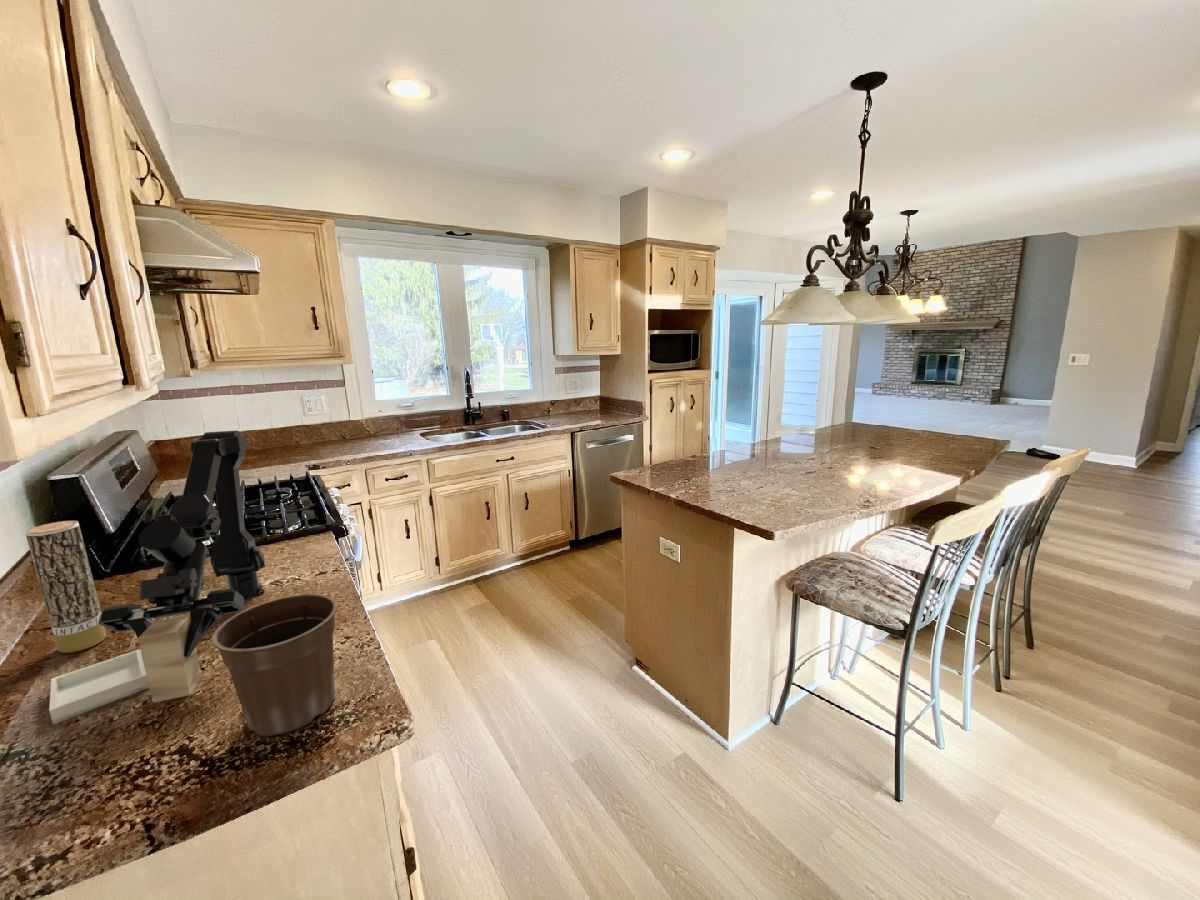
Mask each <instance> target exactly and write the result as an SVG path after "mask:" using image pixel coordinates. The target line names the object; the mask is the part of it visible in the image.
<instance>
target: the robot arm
mask: <svg viewBox="0 0 1200 900" xmlns="http://www.w3.org/2000/svg"><path fill="white" fill-rule="evenodd" d="M247 439H248V438H247V437H246V434H241V432H240V431H239V430H238V429H237V430H223V431H206V432H204V433H203V436H202V437H197V438H194V439H193V441H191V443H190V444H191V445H190V451H191V459H190V463H189V467H188V471H187V474H186V475H187V476H186V480H185V483H184V488H183V492H182V494H181V495H182V496H181V497H180V498H179V499H178V500H177V501H176V502H174V503H173V504H172V505H171V506H170V509H169V511H168V514H162V515H158V516H157V519H156V520H155V521H154V522H152V523H150V524H148V525H147V526H146V527H144V529H142V531H141V532H140V533H139V535H138V538H137V539H138V543H139V545H140V547H142V548H143V549H144V550H146V551H147V552H148V553H149V554H151V555H152V556H153V557H154V558H156V559H157V560H159V561H161V562H164V564H163V570H162V572H161V573H158V574H157V576H156V577H155V578H150V579H143V580H140V581H139V598H138V599H139V601H146V600H147V602H148V603H149V604H151V605H153V604H155V606H151V607H147V608H146V607H145V608H143V607H140V606H138V605H136V604H135V603H133V602H132V603H127V604H126V603H125V604H120V605H113V606H108V607H106V608H105V609H103V611H101V614H100V617H99V621H98V624H100V625H102V626H104V627H105V629H108V630H111V631H113V632H119V633H121V632H122V633H123V632H128V631H133V632H134V633H135V635H136V637H137V639H138V638H139V637H140V635H141V634H142V633H143V632H144V631H145V630H146V629H147V628H148V627H149V626H150V625H151V624H152V623H153V622H155V619H158V618H163V617H170V616H177V615H183V614H189V617H190V622H191V623H190V627H189V631H188V636H187V640H186V644H185V652H184V656H185V657H189V656H190V655H191V653H192V652H193V651H194V649H195V648H196V649H197V646H198V645H199V643H200V641H201V640H202V639H203V638H204V636H205V635H206V633H207V632H208V630H210V628H211V627H212V626H213V625H214V624H215V622H216V621H219V620H221V619H222V618H223V615H222V614H224V615H229V614H234V613H240V612H242V611H244V610H245V600H246V599H248V597H249V598H251V597H250V596H253V597H255V596H254V595H256V596H258V595H257V594H259V593H262V592H264V593H265V590H264V588H263V587H262V586H261V585H260V583H259V577H258V572H259V571H260V570H261V569H263V568H265V567H266V562H265V555H264V553H263V552H262V551H261V550H260V548H259V547H258V546H257V545H256V539H255V538H254V536H253V535H251V533H249V531H248V530H247V529H246V526H245V518H244V508H243V497H242V490H241V479H240V471H239V470H240V466H241V465H242V463H243V462H244V460H245V458H246V457H247V456H246V455H247V454H246V450H247V448H248V440H247ZM214 496H215V501H216V507H215V505H214V503H213V502H214ZM218 530H219V534H218V536H217V538H216V539H215V541H214V542H212V544H211V546H210V549H211V554H210V552H209V551H210V550H209V549H208V546H207V545H206V544H205V543H204V542H203V541H200V540H199V539H202V538H210V537H211V536H214V535H215V534H216V532H217V531H218ZM209 555H210V564H211V567H212V568H213V569H212V570H213V571H214V574H215V576H216V578H217V577H218V578H219V577H223V576H226V578H227V583H228V584H227V585H228V588H223V589H218V590H211V591H209V592H208V593H207V595H206V596H207V597H206V598H202V599H200V595H201V594H200V593H201V589H202V586H205V582H206V579H205V578H204V577H203V576H204V570H205V563H206V558H207V557H208V556H209ZM261 591H262V592H261ZM262 594H263V593H262ZM259 595H260V594H259ZM245 598H246V599H245ZM221 613H222V614H221Z"/></svg>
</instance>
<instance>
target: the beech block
mask: <svg viewBox="0 0 1200 900" xmlns="http://www.w3.org/2000/svg"><path fill="white" fill-rule="evenodd" d="M190 623H191V619H190V615H188V616H183V617H177V618H170V619H165V620H164V619H163V620H158V621H154V622H153V623H152V624H151V625H150V626H149V627H148V628H147V629H146V630H145V631H144V632H143V633H142V634H141V635H140V637H139V638H137V641H138V645H139V649H140V650H141V654H142V659H143V663H144V667H145V671H146V676H147V680H148V684H149V690H150V696H151V699H152V703H153V704H155V703H159V702H160V703H161V702H164V701H169V700H174V699H177V698H183V697H187V696H191V694H192V693H193V691H194V690H195V688H196V687H197V685H198V683H199V682H200V681H201V679H202V677H203V675H202V671H201V670H202V669H201V666H200V661H199V655H198V651H197V647H196V648H195V649H194V651H193V652H192V653H191V655H190V656H189V657H185V656H184V652H185V644H186V640H187V636H188V631H189V627H190Z"/></svg>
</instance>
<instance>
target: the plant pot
mask: <svg viewBox="0 0 1200 900" xmlns="http://www.w3.org/2000/svg"><path fill="white" fill-rule="evenodd" d="M337 605H338V604H337V602H336V600H335V599H334V598H332V597H330V596H327V595H324V594H319V593H301V594H300V593H299V594H294V595H293V594H292V595H288V596H287V595H286V596H284V597H279V598H274V599H271V600H267V601H265V602H262V603H259V604H256V605H253V606H251V607H249V608H246V609H244V610H243V611H241V612H237V613H236V614H234V615H233V616H231V617H230V618H228V619H227V620H226V621H224V622H223V623H222V624H220V625H219V626H218V627H217V628H216V630H215V631H214V633H213V634H212V638H211V641H212V643H213V646H214V647H215V648H216V649H217V650H219V653H220V656H221V658H222V659H221V660H222V662H223V664H224V666H226V667H227V668H228V671H229V674H230V676H231V680H232V682H233V685H234V688H235V691H236V694H237V697H238V700H239V703H240V706H241V709H242V713H243V716H244V719H245V722H246V726H247V728H248V731H249V732H252V731H253V732H254V733H256V735H257V736H261V737H262V736H263V737H264V736H265V737H269V736H270V737H272V736H278V735H283V734H287V733H290V732H293V731H296V730H298V729H301V728H303V727H305V726H307V725H309V724H311V723H312V721H313V720H314V719H315V718H316V717H317V716H320V715H323V714H324V713H325V712H326V711H327V710H328V709H330V707H331V705H332V704H333V701H334V700H335V696H336V695H335V694H336V688H335V687H336V686H335V685H336V684H335V683H336V682H335V663H334V662H335V661H334V632H335V629H336V627H335V625H336V624H335V614H336V612H337Z"/></svg>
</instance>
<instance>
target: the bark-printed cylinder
mask: <svg viewBox="0 0 1200 900" xmlns="http://www.w3.org/2000/svg"><path fill="white" fill-rule="evenodd" d="M25 536H26V541H27V543H28V547H29V551H30V554H31V555H30V556H31V557H32V562H33V566H34V569H35V573H36V576H37V581H38V584H39V588H40V591H41V594H42V597H43V602H44V606H45V609H46V612H47V616H48V619H49V625H50V627H51V630H52V634H53V638H54V640H55V645H56V648H57V650H58V652H60V653H63V654H72V653H77V652H81V651H85V650H87V649H90V648H92V647H94V646H96V645H98V644H99V643H101V642H103V641H104V640H105V639H106V636H107V630H106V627H104V626H102V625H100V624H98V621H99V617H100V614H101V613H102V610H101V606H100V603H99V602H100V601H99V598H98V594H97V591H96V590H97V589H96V587H95V586H96V585H95V582H94V579H93V574H92V570H91V566H90V561H89V557H88V554H87V550H86V546H85V542H84V539H83V534H82V531H81V525H80V523H79V521H78V520H62V521H56V522H50V523H45V524H42V525H37V526H34V527H31V528H29V529H26V530H25Z"/></svg>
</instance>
